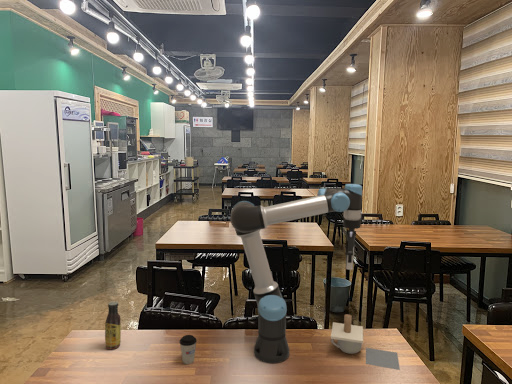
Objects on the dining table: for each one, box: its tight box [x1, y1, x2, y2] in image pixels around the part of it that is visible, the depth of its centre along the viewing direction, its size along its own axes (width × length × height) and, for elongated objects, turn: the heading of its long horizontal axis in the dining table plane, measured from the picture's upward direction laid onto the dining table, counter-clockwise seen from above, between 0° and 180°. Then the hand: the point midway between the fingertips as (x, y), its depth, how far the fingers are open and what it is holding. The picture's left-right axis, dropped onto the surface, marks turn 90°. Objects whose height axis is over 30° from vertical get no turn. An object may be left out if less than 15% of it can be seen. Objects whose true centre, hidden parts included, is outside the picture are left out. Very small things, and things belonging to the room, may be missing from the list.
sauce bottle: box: [104, 300, 122, 350], centre depth 159 cm, size 7×6×20 cm
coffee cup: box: [179, 334, 198, 365], centre depth 149 cm, size 7×7×10 cm
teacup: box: [330, 338, 363, 355], centre depth 159 cm, size 14×11×8 cm
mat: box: [365, 347, 401, 371], centre depth 153 cm, size 13×13×1 cm
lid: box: [330, 313, 364, 344], centre depth 158 cm, size 13×13×8 cm
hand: (350, 264), depth 167 cm, fingers open, 13 cm apart
